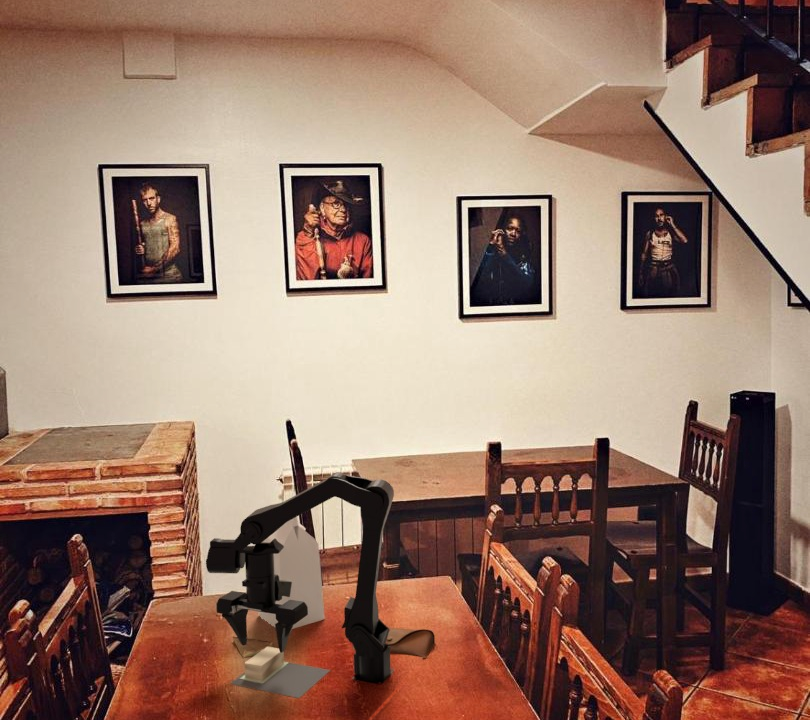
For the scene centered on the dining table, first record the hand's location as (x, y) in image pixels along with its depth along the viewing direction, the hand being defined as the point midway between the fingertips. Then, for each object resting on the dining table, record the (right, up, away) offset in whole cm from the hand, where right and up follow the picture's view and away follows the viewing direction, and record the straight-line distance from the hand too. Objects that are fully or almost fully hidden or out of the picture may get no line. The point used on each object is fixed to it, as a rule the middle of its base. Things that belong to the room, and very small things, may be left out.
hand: (263, 648), depth 156 cm
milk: (+1, -4, +29) cm, 29 cm away
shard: (-5, -6, +11) cm, 13 cm away
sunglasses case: (+26, -5, +11) cm, 29 cm away
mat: (+4, -5, -2) cm, 7 cm away
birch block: (0, -5, 0) cm, 5 cm away
